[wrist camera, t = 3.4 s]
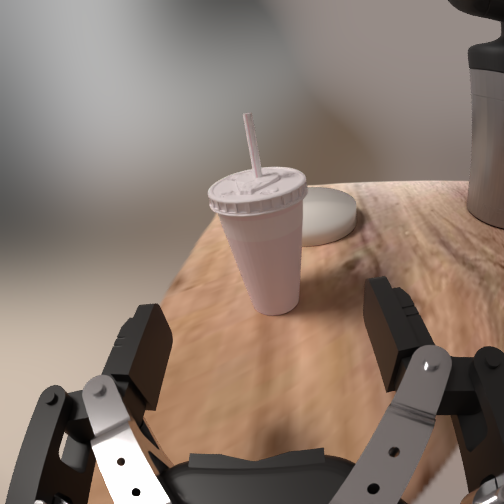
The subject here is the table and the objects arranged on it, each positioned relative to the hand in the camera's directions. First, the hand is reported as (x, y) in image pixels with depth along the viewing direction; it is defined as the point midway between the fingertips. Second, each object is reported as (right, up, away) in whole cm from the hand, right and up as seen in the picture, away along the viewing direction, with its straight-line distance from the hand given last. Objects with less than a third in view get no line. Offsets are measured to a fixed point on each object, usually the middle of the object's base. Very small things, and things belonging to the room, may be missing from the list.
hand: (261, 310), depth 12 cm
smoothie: (+2, -2, +13) cm, 13 cm away
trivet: (+6, +6, +23) cm, 24 cm away
